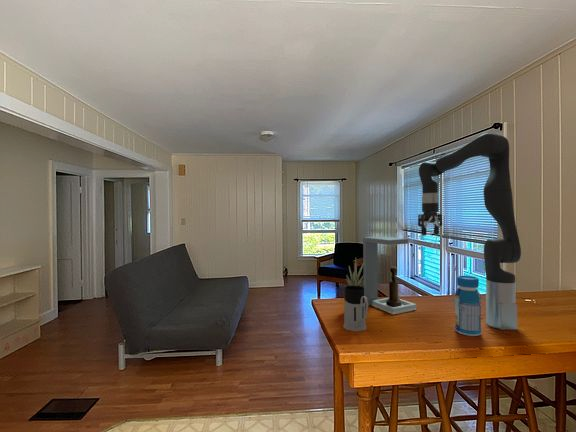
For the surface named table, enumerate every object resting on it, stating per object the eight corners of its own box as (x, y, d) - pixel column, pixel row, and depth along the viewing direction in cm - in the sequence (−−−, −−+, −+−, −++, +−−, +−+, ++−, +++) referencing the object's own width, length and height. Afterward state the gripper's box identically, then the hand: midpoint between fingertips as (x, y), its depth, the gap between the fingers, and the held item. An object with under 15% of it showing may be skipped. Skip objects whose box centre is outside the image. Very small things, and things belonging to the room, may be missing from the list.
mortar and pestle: (398, 303, 144) (398, 265, 144) (404, 307, 138) (403, 267, 138) (384, 303, 144) (384, 265, 144) (389, 308, 138) (389, 267, 137)
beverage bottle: (468, 338, 107) (468, 280, 107) (449, 329, 115) (449, 275, 115) (487, 335, 109) (487, 278, 109) (467, 326, 117) (467, 274, 117)
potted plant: (371, 315, 131) (371, 257, 131) (352, 318, 128) (352, 259, 127) (358, 308, 140) (357, 254, 140) (339, 311, 137) (339, 256, 137)
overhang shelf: (389, 300, 153) (388, 235, 153) (416, 310, 138) (416, 238, 137) (363, 304, 146) (363, 237, 146) (389, 315, 131) (389, 240, 130)
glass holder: (359, 321, 124) (359, 284, 124) (378, 335, 110) (378, 293, 110) (339, 324, 122) (339, 286, 122) (356, 338, 108) (356, 295, 108)
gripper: (426, 202, 147) (426, 236, 147) (446, 202, 153) (446, 234, 153) (413, 202, 154) (413, 235, 154) (433, 202, 160) (434, 234, 160)
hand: (430, 235), depth 154 cm, fingers open, 8 cm apart
